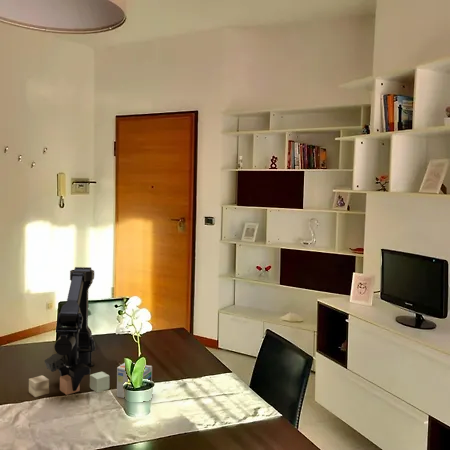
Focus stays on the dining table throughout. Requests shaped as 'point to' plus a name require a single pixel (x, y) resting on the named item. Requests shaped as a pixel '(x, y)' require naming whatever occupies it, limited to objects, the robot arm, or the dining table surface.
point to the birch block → (38, 386)
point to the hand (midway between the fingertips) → (69, 387)
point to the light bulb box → (123, 377)
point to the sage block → (99, 381)
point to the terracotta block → (67, 385)
